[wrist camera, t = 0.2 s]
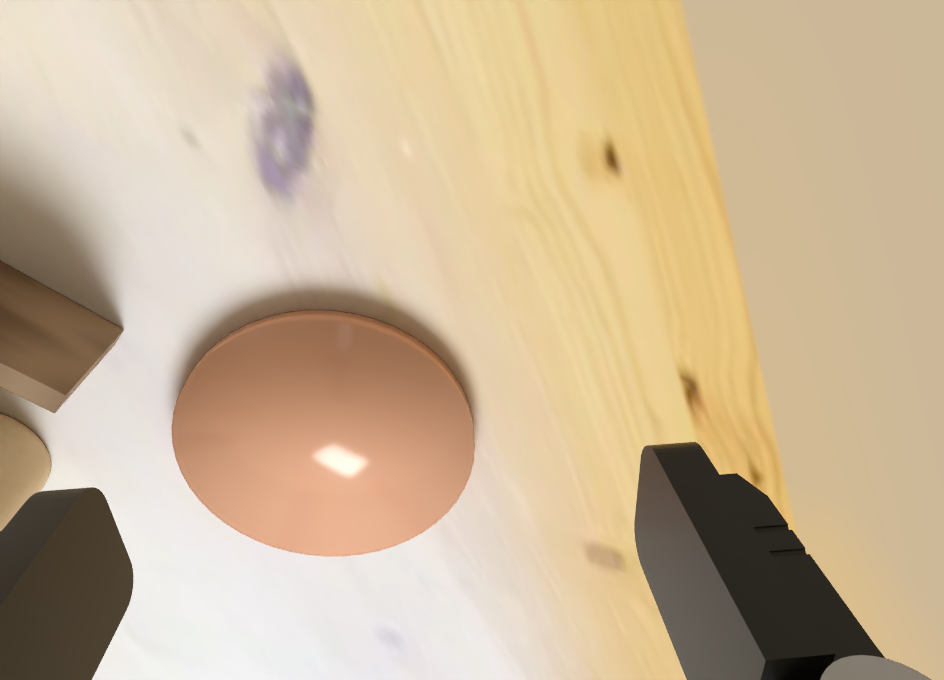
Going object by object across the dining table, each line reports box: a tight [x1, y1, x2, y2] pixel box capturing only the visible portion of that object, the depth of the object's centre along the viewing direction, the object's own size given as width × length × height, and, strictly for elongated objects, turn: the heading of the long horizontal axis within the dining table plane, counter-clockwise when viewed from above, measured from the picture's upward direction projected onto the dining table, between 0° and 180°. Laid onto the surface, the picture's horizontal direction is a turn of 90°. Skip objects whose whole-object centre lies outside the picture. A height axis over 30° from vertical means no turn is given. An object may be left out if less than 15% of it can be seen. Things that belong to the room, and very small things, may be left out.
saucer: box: [172, 310, 475, 556], centre depth 30 cm, size 14×14×1 cm
